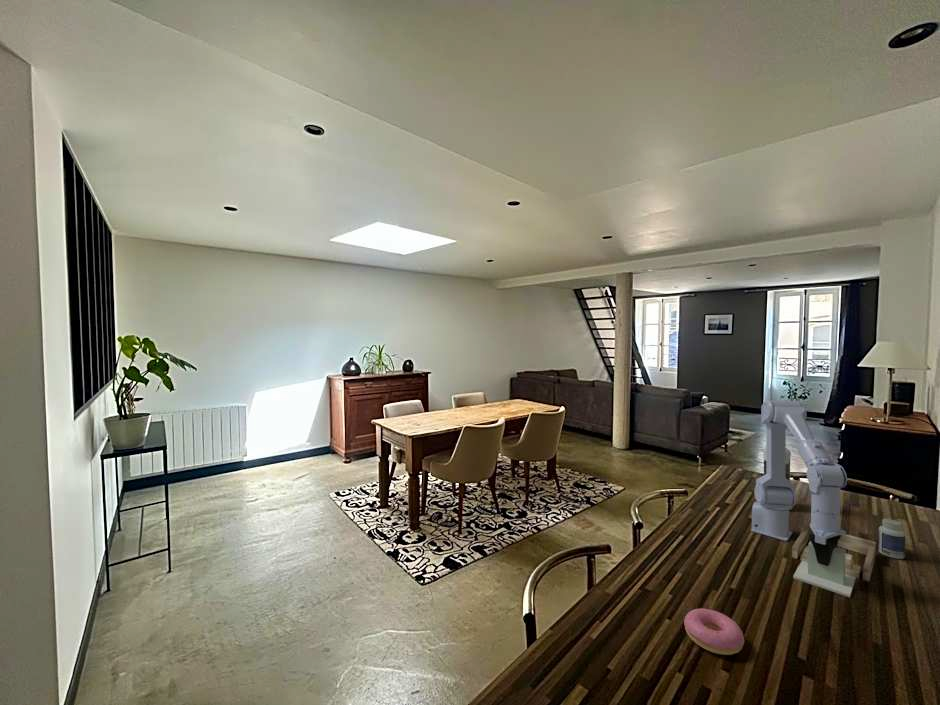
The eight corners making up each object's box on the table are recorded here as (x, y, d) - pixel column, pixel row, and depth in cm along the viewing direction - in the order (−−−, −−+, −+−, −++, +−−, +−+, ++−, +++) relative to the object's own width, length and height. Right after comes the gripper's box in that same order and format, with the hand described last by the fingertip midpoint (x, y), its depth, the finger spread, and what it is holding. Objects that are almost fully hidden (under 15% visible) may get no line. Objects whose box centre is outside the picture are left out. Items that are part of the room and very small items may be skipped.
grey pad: (793, 578, 108) (793, 575, 108) (801, 562, 115) (801, 560, 115) (850, 597, 99) (850, 595, 99) (855, 579, 107) (855, 577, 107)
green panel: (807, 573, 109) (808, 544, 108) (809, 569, 111) (810, 540, 110) (843, 585, 103) (843, 554, 103) (844, 580, 105) (845, 550, 105)
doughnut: (676, 639, 86) (676, 620, 86) (693, 615, 94) (693, 597, 94) (736, 669, 78) (736, 647, 78) (750, 639, 86) (750, 620, 86)
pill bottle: (910, 560, 116) (911, 526, 116) (887, 558, 117) (888, 524, 117) (894, 550, 121) (895, 518, 121) (873, 549, 122) (874, 516, 122)
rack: (791, 557, 118) (792, 543, 118) (804, 536, 130) (805, 523, 130) (869, 581, 106) (869, 566, 106) (875, 555, 118) (875, 542, 118)
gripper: (842, 523, 99) (841, 579, 99) (849, 507, 109) (848, 557, 109) (804, 514, 104) (803, 567, 105) (815, 499, 114) (814, 547, 114)
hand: (824, 561), depth 107 cm, fingers open, 3 cm apart
